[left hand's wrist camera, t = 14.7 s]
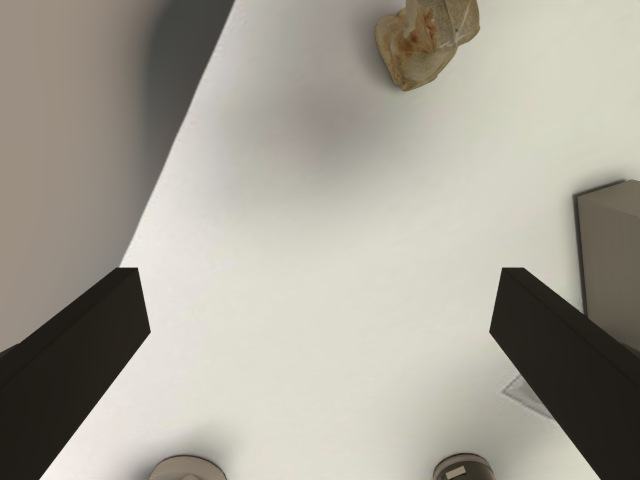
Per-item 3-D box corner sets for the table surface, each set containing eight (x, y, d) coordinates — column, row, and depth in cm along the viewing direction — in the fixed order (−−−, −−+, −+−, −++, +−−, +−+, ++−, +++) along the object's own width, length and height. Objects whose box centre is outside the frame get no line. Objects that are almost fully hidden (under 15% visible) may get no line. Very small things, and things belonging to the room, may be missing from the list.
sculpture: (420, 3, 35) (490, -69, 20) (437, 79, 37) (509, 61, 23) (364, 26, 35) (394, -28, 21) (384, 99, 38) (422, 93, 24)
